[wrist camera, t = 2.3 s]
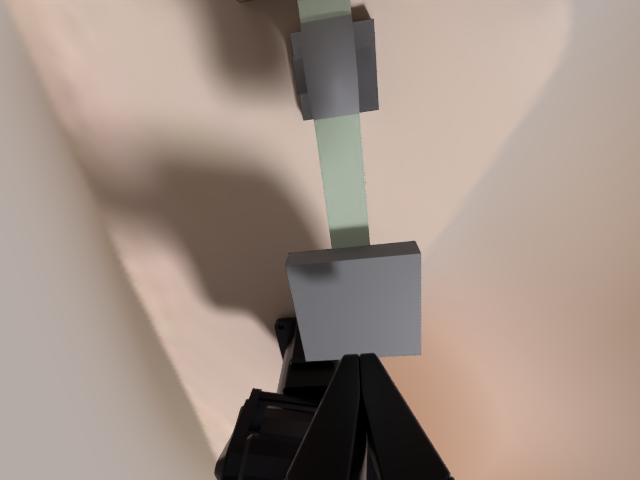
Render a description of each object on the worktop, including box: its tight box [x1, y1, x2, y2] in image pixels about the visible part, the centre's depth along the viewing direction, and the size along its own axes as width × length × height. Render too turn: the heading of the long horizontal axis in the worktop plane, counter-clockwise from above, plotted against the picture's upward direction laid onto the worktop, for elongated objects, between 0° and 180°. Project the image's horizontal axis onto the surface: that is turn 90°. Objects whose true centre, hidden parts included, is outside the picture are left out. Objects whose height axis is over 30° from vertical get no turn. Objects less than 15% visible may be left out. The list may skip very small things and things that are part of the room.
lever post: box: [290, 19, 379, 120], centre depth 13 cm, size 4×4×8 cm
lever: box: [285, 0, 421, 361], centre depth 10 cm, size 19×4×6 cm, turn 8°
